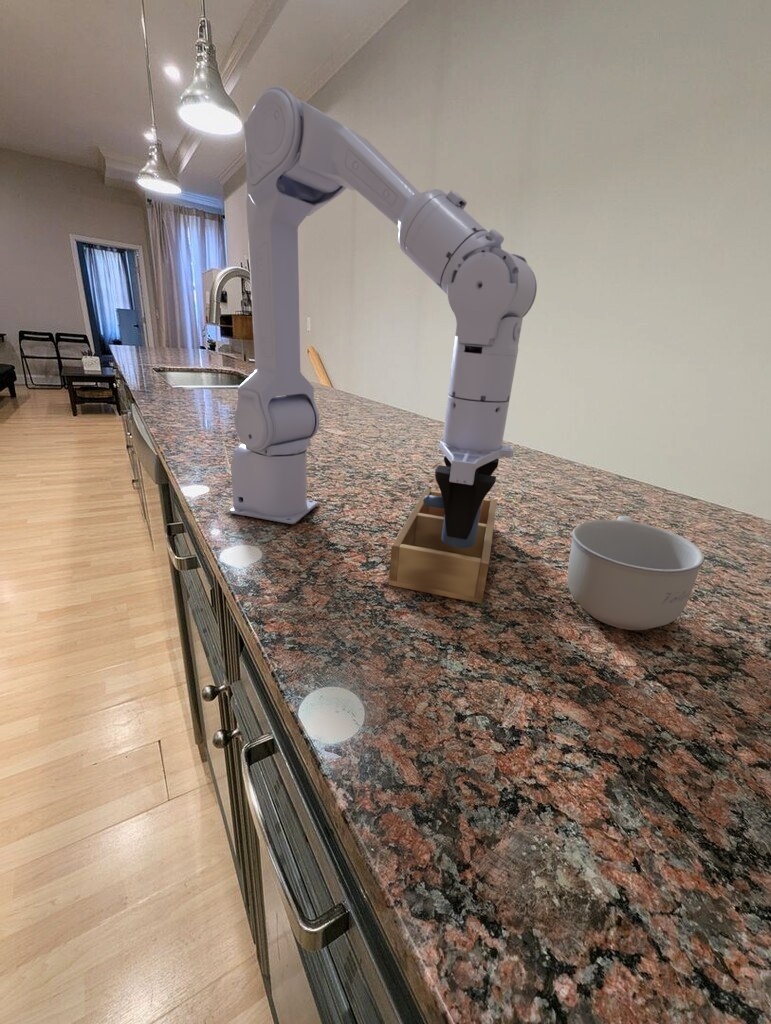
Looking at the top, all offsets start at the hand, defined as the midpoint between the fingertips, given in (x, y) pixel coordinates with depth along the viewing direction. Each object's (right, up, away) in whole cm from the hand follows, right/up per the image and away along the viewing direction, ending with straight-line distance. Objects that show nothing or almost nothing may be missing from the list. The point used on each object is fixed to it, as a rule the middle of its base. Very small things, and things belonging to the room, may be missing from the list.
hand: (459, 528), depth 47 cm
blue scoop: (-1, -1, +1) cm, 2 cm away
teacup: (+16, -8, -1) cm, 18 cm away
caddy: (0, -3, +6) cm, 7 cm away
